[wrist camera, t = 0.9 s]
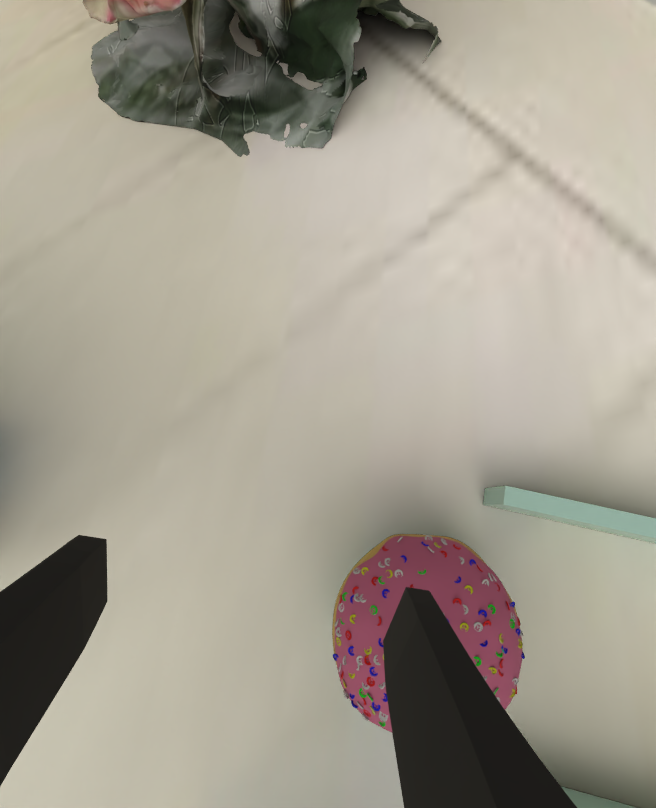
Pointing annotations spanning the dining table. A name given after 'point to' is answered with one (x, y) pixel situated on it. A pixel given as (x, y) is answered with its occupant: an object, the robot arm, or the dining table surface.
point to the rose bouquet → (235, 63)
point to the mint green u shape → (583, 517)
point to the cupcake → (457, 598)
